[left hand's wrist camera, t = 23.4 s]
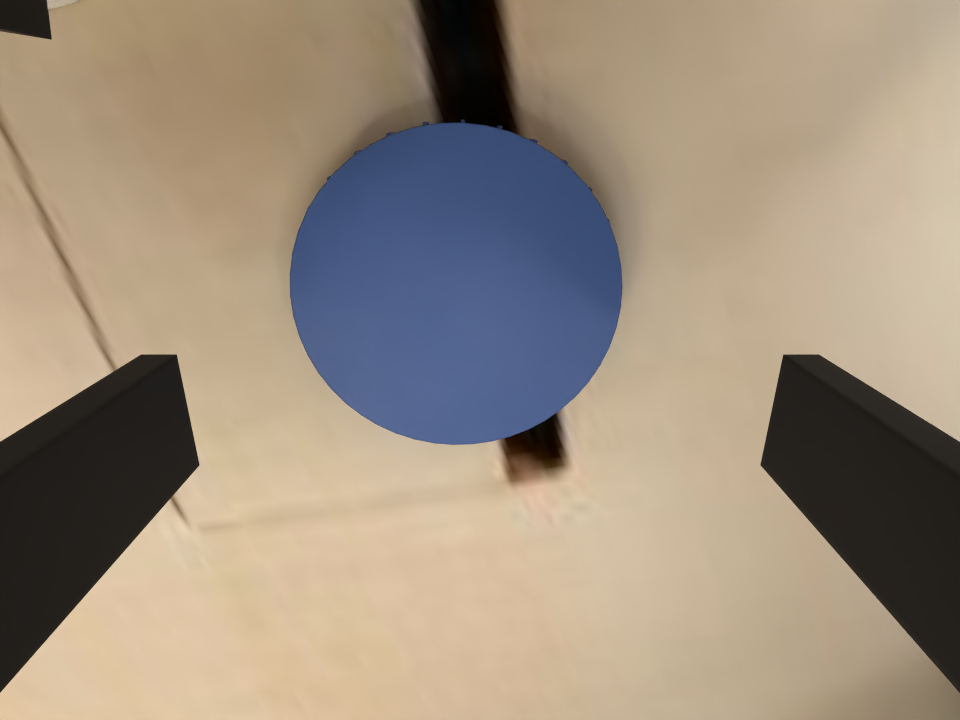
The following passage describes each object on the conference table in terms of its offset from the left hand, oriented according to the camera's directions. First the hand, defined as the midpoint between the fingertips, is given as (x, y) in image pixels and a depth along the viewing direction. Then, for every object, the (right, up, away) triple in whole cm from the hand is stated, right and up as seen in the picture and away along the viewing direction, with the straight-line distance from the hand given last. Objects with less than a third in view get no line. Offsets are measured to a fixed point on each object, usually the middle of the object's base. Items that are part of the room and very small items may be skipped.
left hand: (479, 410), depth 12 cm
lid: (-1, +3, +6) cm, 7 cm away
